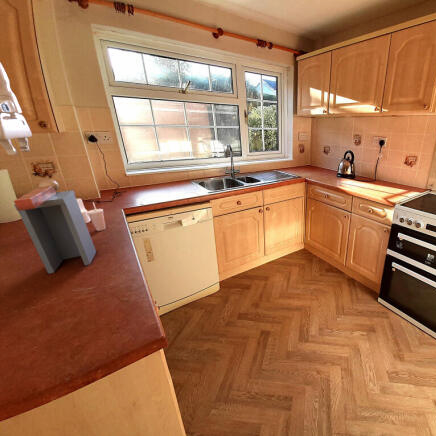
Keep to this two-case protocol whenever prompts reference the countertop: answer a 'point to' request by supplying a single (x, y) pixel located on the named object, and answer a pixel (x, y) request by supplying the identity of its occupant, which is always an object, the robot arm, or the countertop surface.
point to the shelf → (59, 230)
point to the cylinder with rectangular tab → (83, 211)
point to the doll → (37, 195)
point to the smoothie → (97, 218)
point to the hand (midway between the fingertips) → (19, 153)
